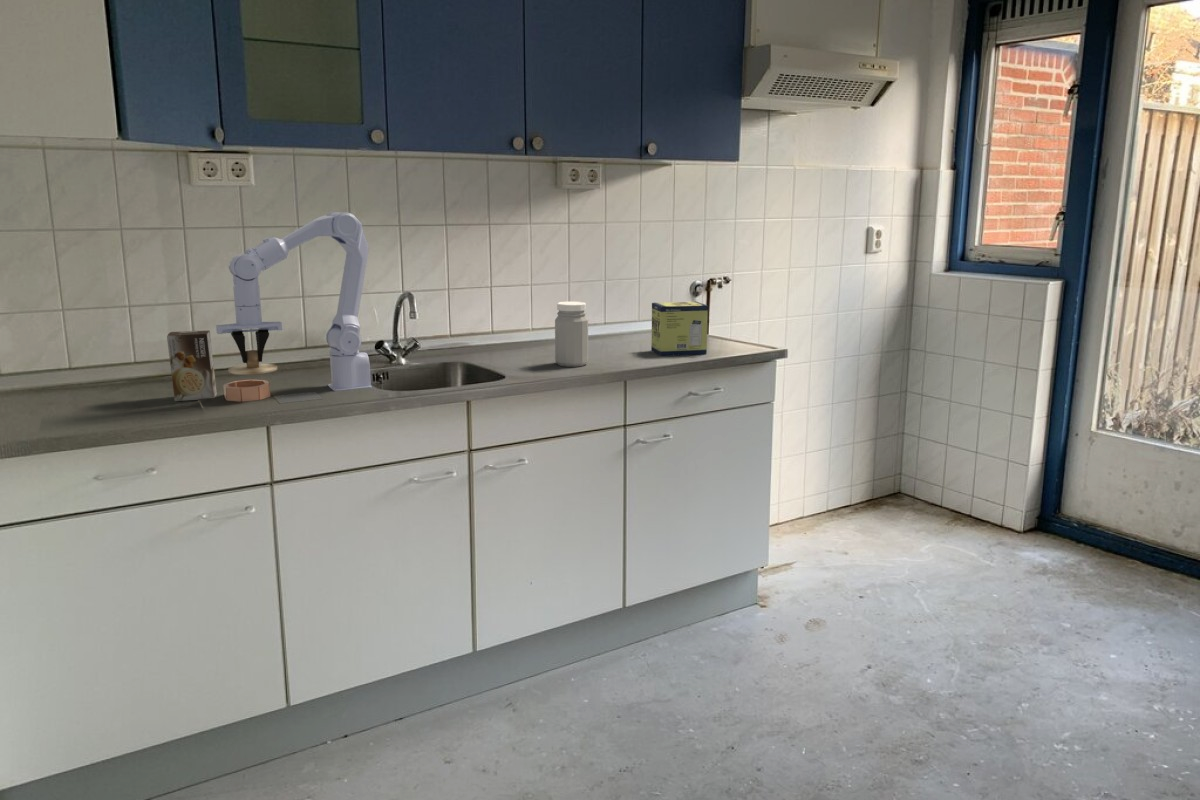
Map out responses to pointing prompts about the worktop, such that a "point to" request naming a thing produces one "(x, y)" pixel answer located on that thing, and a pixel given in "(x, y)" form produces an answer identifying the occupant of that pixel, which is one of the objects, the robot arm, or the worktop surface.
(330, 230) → the robot arm
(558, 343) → the jar
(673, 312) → the protein box
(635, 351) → the worktop surface
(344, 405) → the worktop surface
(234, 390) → the bowl
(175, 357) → the coffee box
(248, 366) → the lid
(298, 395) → the mat
